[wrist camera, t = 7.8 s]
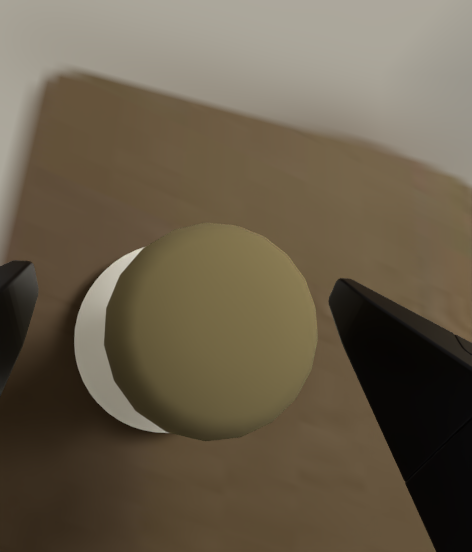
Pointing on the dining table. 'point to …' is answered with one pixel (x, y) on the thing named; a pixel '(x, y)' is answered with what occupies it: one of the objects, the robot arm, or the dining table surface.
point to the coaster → (93, 351)
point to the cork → (211, 332)
